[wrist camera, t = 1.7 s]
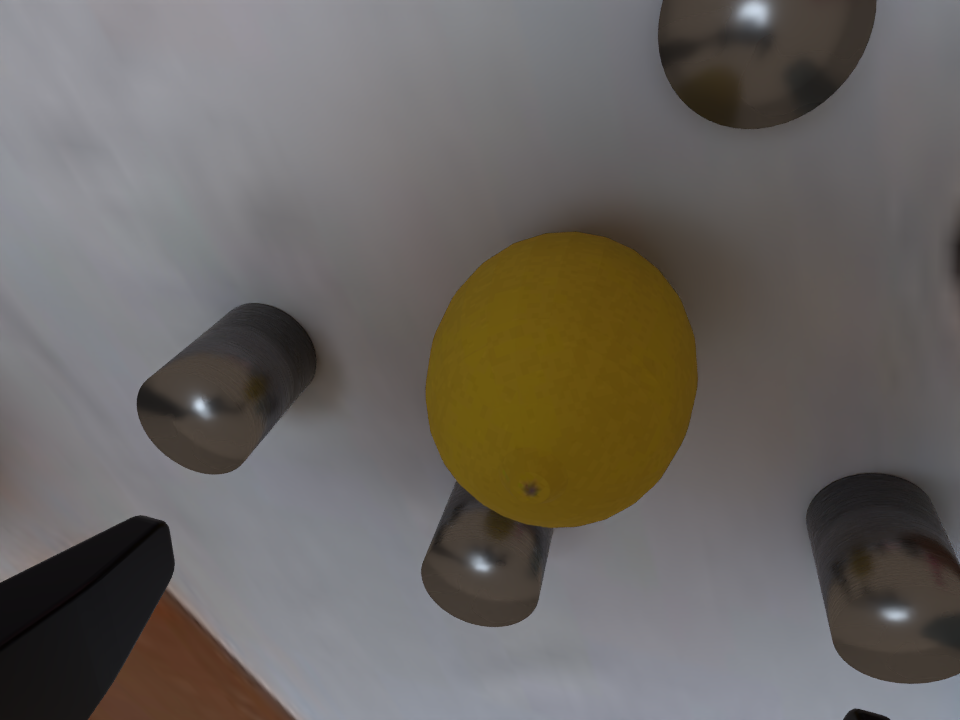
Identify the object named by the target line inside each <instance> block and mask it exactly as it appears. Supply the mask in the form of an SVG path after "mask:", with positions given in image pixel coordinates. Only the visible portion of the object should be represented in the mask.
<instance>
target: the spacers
mask: <svg viewBox="0 0 960 720" xmlns="http://www.w3.org/2000/svg"><path fill="white" fill-rule="evenodd" d="M875 13H876V0H663V3H662V7H661V12H660V19H659V28H658V42H659V52H660V57H661V62H662V66H663V68H664V71H665V74H666V76H667V78H668V80H669V82H670V84H671V86H672V88H673V89H674V91H675V92H676V93H677V95H678V96H679V97H680V99H681V100H682V101H683V102H684V103H685V104H686V105H687V106H688V107H689V108H691V109H692V110H693V111H695V112H696V113H697V114H699V115H700V116H702V117H704V118H706V119H708V120H709V121H712V122H715V123H717V124H720V125H724V126H728V127H732V128H741V129H759V128H766V127H772V126H776V125H779V124H783V123H786V122H789V121H791V120H794V119H796V118H798V117H800V116H802V115H804V114H806V113H808V112H810V111H811V110H813V109H814V108H816V107H817V106H819V105H820V104H821V103H823V102H824V101H825V100H826V99H828V98H829V97H830V96H831V95H832V94H833V93H834V92H836V90H837V89H838V88H839V87H840V86H841V85H842V84H843V83H844V82H845V81H846V79H847V78H848V77H849V75H850V74H851V73H852V71H853V70H854V68H855V67H856V65H857V63H858V62H859V60H860V58H861V57H862V55H863V53H864V50H865V48H866V46H867V43H868V41H869V38H870V35H871V32H872V28H873V25H874V19H875ZM315 370H316V355H315V350H314V347H313V345H312V342H311V340H310V338H309V337H308V335H307V334H306V332H305V331H304V330H303V328H302V327H301V326H300V325H299V324H298V323H297V322H296V321H295V320H294V319H293V318H291V317H290V316H289V315H287V314H286V313H284V312H282V311H281V310H279V309H276V308H274V307H271V306H268V305H264V304H245V305H241V306H239V307H236V308H234V309H233V310H231V311H230V312H229V313H228V314H226V315H225V316H224V317H223V318H222V319H220V320H219V321H218V322H217V323H215V324H214V325H213V326H212V327H211V328H209V329H208V330H207V331H206V332H205V333H203V334H202V335H201V336H200V337H198V338H197V339H196V340H195V341H194V342H192V343H191V344H190V345H189V346H187V347H186V348H185V349H184V350H183V351H181V352H180V353H179V354H178V355H177V356H175V357H174V358H173V359H172V360H170V361H169V362H168V363H167V364H166V365H164V366H163V367H162V368H161V369H159V370H158V371H157V372H156V373H155V374H153V375H152V376H151V377H150V378H149V379H147V380H146V381H145V382H144V383H143V385H142V386H141V388H140V390H139V393H138V397H137V412H138V416H139V419H140V422H141V424H142V426H143V428H144V430H145V432H146V434H147V435H148V437H149V438H150V439H151V441H152V442H153V443H154V444H155V445H156V447H157V448H158V449H159V450H160V451H161V452H163V453H164V454H165V455H166V456H167V457H169V458H170V459H171V460H173V461H175V462H176V463H178V464H180V465H181V466H183V467H185V468H188V469H190V470H193V471H196V472H200V473H204V474H224V473H228V472H231V471H233V470H235V469H237V468H238V467H239V466H241V464H242V463H243V462H244V461H245V460H246V459H247V458H248V456H249V455H250V454H251V453H252V452H253V450H254V449H255V448H256V447H257V446H258V444H259V443H260V442H261V441H262V440H263V438H264V437H265V436H266V435H267V434H268V432H269V431H270V430H271V429H272V428H273V426H274V425H275V424H276V423H277V422H278V420H279V419H280V418H281V417H282V416H283V415H284V413H285V412H286V411H287V410H288V409H289V407H290V406H291V405H292V404H293V403H294V401H295V400H296V399H297V398H298V397H299V395H300V394H301V393H302V392H303V391H304V389H305V388H306V387H307V386H308V385H309V383H310V382H311V380H312V379H313V377H314V374H315ZM806 523H807V529H808V533H809V538H810V542H811V546H812V551H813V555H814V560H815V564H816V569H817V573H818V578H819V582H820V587H821V591H822V595H823V600H824V604H825V609H826V613H827V618H828V622H829V627H830V631H831V636H832V640H833V644H834V646H835V649H836V651H837V652H838V654H839V655H840V656H841V658H842V659H843V660H844V661H845V662H846V663H848V664H849V665H850V666H851V667H853V668H854V669H856V670H858V671H860V672H861V673H863V674H866V675H868V676H870V677H873V678H877V679H880V680H884V681H889V682H895V683H907V684H914V683H928V682H934V681H939V680H943V679H946V678H949V677H952V676H955V675H957V674H959V673H960V563H959V561H958V559H957V557H956V555H955V552H954V550H953V548H952V546H951V544H950V542H949V539H948V537H947V535H946V533H945V531H944V528H943V526H942V524H941V522H940V520H939V518H938V515H937V513H936V511H935V509H934V507H933V504H932V502H931V501H930V499H929V497H928V496H927V495H926V494H925V493H924V492H923V491H922V490H921V489H920V488H919V487H917V486H916V485H914V484H913V483H911V482H909V481H907V480H904V479H902V478H898V477H895V476H891V475H885V474H862V475H855V476H851V477H847V478H844V479H841V480H839V481H837V482H834V483H833V484H831V485H829V486H827V487H826V488H825V489H823V490H822V491H821V492H820V493H819V494H818V495H817V496H816V497H815V498H814V499H813V501H812V502H811V504H810V506H809V509H808V511H807V517H806ZM552 533H553V528H548V527H541V526H534V525H528V524H524V523H521V522H518V521H515V520H512V519H510V518H507V517H504V516H502V515H500V514H498V513H497V512H495V511H493V510H491V509H490V508H488V507H486V506H484V505H483V504H481V503H480V502H479V501H478V500H477V499H476V498H475V497H473V496H472V495H471V494H470V493H469V492H468V491H467V490H465V489H464V488H463V487H462V486H461V485H460V484H459V483H458V482H457V481H456V483H455V485H454V488H453V490H452V493H451V495H450V498H449V500H448V503H447V505H446V507H445V510H444V512H443V515H442V517H441V520H440V522H439V524H438V527H437V529H436V532H435V534H434V537H433V539H432V541H431V544H430V546H429V549H428V551H427V554H426V556H425V559H424V561H423V564H422V569H421V575H422V581H423V584H424V586H425V588H426V590H427V592H428V594H429V595H430V597H431V598H432V599H433V600H434V601H435V602H436V603H437V604H438V605H439V606H440V607H441V608H442V609H444V610H445V611H446V612H448V613H449V614H451V615H453V616H454V617H456V618H458V619H461V620H463V621H465V622H468V623H471V624H475V625H480V626H487V627H502V626H508V625H512V624H515V623H518V622H520V621H522V620H524V619H525V618H527V617H528V616H529V615H530V614H531V613H532V612H533V611H534V609H535V607H536V606H537V603H538V599H539V595H540V590H541V585H542V581H543V576H544V571H545V566H546V562H547V557H548V552H549V547H550V543H551V538H552Z"/></svg>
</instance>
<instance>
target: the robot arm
mask: <svg viewBox="0 0 960 720" xmlns="http://www.w3.org/2000/svg"><path fill="white" fill-rule="evenodd" d="M174 566H175V561H174V554H173V548H172V542H171V536H170V530H169V526H168V525H167V524H166V522H164V521H162V520H158V519H154V518H150V517H147V516H141V515H140V516H135V517H132V518H130V519H128V520H126V521H124V522H122V523H119V524H117V525H115V526H113V527H111V528H109V529H107V530H105V531H103V532H101V533H99V534H97V535H95V536H93V537H91V538H89V539H87V540H85V541H83V542H81V543H79V544H77V545H75V546H73V547H71V548H69V549H67V550H65V551H63V552H61V553H59V554H57V555H55V556H53V557H51V558H49V559H47V560H45V561H43V562H41V563H39V564H37V565H35V566H33V567H31V568H29V569H27V570H25V571H23V572H21V573H19V574H17V575H15V576H13V577H11V578H9V579H7V580H5V581H3V582H1V583H0V720H88V718H89V717H90V716H91V714H92V713H93V711H94V710H95V708H96V707H97V705H98V704H99V703H100V701H101V700H102V698H103V697H104V695H105V694H106V692H107V691H108V689H109V688H110V686H111V685H112V683H113V682H114V680H115V678H116V677H117V675H118V673H119V671H120V670H121V668H122V666H123V665H124V663H125V661H126V659H127V658H128V656H129V654H130V652H131V650H132V649H133V647H134V645H135V643H136V641H137V640H138V638H139V636H140V634H141V632H142V631H143V629H144V627H145V625H146V623H147V622H148V620H149V618H150V616H151V614H152V613H153V611H154V609H155V607H156V605H157V604H158V602H159V600H160V598H161V596H162V595H163V593H164V591H165V589H166V587H167V586H168V584H169V582H170V580H171V578H172V575H173V572H174ZM843 720H890V719H889V718H887V717H885V716H883V715H880V714H876V713H872V712H868V711H865V710H861V709H852V710H850V711H849V712H848V713H847V714H846V716H845V718H844V719H843Z"/></svg>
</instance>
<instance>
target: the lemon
mask: <svg viewBox="0 0 960 720" xmlns="http://www.w3.org/2000/svg"><path fill="white" fill-rule="evenodd" d="M697 383H698V373H697V359H696V346H695V338H694V334H693V331H692V328H691V325H690V323H689V320H688V317H687V315H686V312H685V309H684V307H683V304H682V302H681V300H680V298H679V296H678V295H677V293H676V292H675V291H674V289H673V288H672V287H671V285H670V284H669V283H668V281H667V280H666V279H665V277H664V276H663V275H662V273H661V272H660V271H659V270H658V269H657V268H656V267H655V266H654V265H652V264H651V263H650V262H649V261H647V260H646V259H645V258H644V257H642V256H641V255H640V254H638V253H637V252H636V251H635V250H633V249H631V248H629V247H627V246H624V245H622V244H620V243H618V242H616V241H613V240H611V239H609V238H607V237H603V236H597V235H592V234H586V233H581V232H561V233H545V234H542V235H539V236H536V237H532V238H529V239H526V240H523V241H520V242H517V243H514V244H512V245H510V246H509V247H507V248H506V249H504V250H502V251H501V252H499V253H498V254H496V255H495V256H493V257H491V258H490V259H488V260H487V261H485V262H484V263H483V264H482V265H481V266H480V267H479V268H478V269H477V270H476V271H475V272H474V273H473V274H472V275H471V276H470V277H469V279H468V280H467V281H466V282H465V283H464V284H463V285H462V286H461V287H460V289H459V290H458V291H457V292H456V294H455V295H454V296H453V298H452V300H451V302H450V304H449V306H448V308H447V310H446V312H445V314H444V316H443V318H442V320H441V322H440V324H439V327H438V329H437V331H436V333H435V336H434V339H433V343H432V347H431V353H430V359H429V366H428V372H427V379H426V404H427V411H428V419H429V425H430V431H431V434H432V437H433V439H434V442H435V444H436V446H437V449H438V451H439V454H440V456H441V458H442V460H443V462H444V464H445V466H446V467H447V468H448V470H449V471H450V472H451V474H452V475H453V476H454V478H455V479H456V480H457V482H458V483H459V484H460V485H461V486H462V487H463V488H464V489H465V490H467V491H468V492H469V493H470V494H471V495H472V496H473V497H475V498H476V499H477V500H478V501H479V502H480V503H481V504H483V505H484V506H486V507H488V508H490V509H491V510H493V511H495V512H497V513H498V514H500V515H502V516H504V517H507V518H510V519H512V520H515V521H518V522H521V523H524V524H528V525H534V526H541V527H548V528H558V527H576V526H582V525H586V524H590V523H594V522H598V521H602V520H605V519H607V518H609V517H611V516H613V515H615V514H616V513H618V512H620V511H622V510H624V509H626V508H628V507H629V506H631V505H633V504H634V503H636V502H637V501H638V500H639V499H640V498H641V497H642V496H643V495H644V494H645V493H647V492H648V491H649V490H650V489H651V488H652V487H653V486H654V485H655V484H656V483H657V482H658V481H659V480H660V479H661V477H662V476H663V474H664V472H665V471H666V469H667V467H668V466H669V464H670V462H671V461H672V459H673V457H674V456H675V454H676V452H677V451H678V449H679V447H680V446H681V444H682V442H683V439H684V437H685V435H686V432H687V429H688V426H689V422H690V418H691V413H692V409H693V405H694V400H695V396H696V391H697Z"/></svg>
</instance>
